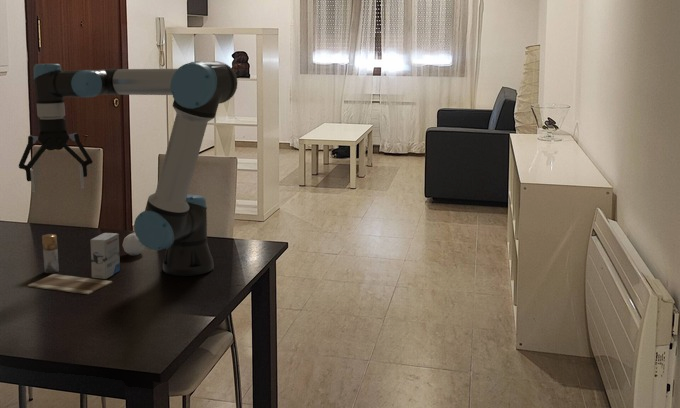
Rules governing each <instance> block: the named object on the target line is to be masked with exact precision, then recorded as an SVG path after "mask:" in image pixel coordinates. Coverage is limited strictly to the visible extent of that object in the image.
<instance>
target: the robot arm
mask: <svg viewBox="0 0 680 408" xmlns="http://www.w3.org/2000/svg"><path fill="white" fill-rule="evenodd" d="M33 84H34V91H35V100H36V103H35V104H36V114H37V117H38V118H39V119H38V120H37V123H38V133H39V134H38V136H33V135H28V136H27V144H26V147H25V149H24V152H23V154H22V156H21V159H20V161H19V164H18V168H19V169H20V170H24V171H25V177H26V181H27V182H31V193H33V194H35V193H36V184H35V175H34V169H32V167H33V166H34V165H35V164H36V162H37V161H38V160H39V159H40V157H41V156H42V155H43V153H44V152H45V151H46V150H48V151H54V150H56V151H57V150H58V151H60V150H62V149H65V150H66V151H67V152H68V153H69V155H71V157H73V158H74V159H75V161H77V162H79V164H80V165H79V166H78V168H79V169H78V170H79V171H78V172H79V178H80V179H79V180H80V188H81V189H85V179H84V178H86V177H88V167H87V166H88V165H91V164H92V163H93V160H92V158H91V156H90V154H88V152H87V150H86V149H85V147H84V145H83V144H82V142H81V141H80V135H79V133H77V132H74V133H70V134H69V133H68V128H67V119H66V118H65V116H66V107H65V98H82V99H86V98H95V97H97V96H106V95H107V96H108V95H109V96H113V95H114V96H118V95H119V96H120V95H123V96H124V95H125V96H129V95H130V96H136V95H137V96H138V95H140V96H141V95H142V96H172V98H173V101H172V108H173V109H174V111H175V118H174V122H173V126H172V129H171V133H170V137H169V140H168V144H167V148H166V152H165V155H164V159H163V162H162V166H161V170H160V174H159V178H158V181H157V185H156V190H155V192H154V193H152V194H150V195H149V196H148V198H147V200H146V201H147V202H146V206H145V209H144V210H143V211H141V212H140V213H139V214H138V215H137V216H136V217H135V219H134V223H133V229H134V232H135V234H136V236H137V237H138V239H139V241H140V242H141V243H142V244H143V245H144V246H145V248H147V249H148V250H152V251H161V250H164V249H166V252H165V255H164V259H163V261H162V270H163V272H164V273H165V274H168V275H171V276H178V277H187V276H188V277H191V276H192V277H193V276H199V275H203V274H207V273H209V272H211V271H213V270H214V268H215V266H214V259H213V256H212V254H211V251H210V248H209V245H208V227H207V226H208V221H207V219H208V217H207V215H208V214H207V209H208V207H207V201H206V197H204V196H202V195H200V194H189V189H190V187H191V183H192V181H193V176H194V173H195V168H196V165H197V163H198V158H199V155H200V150H201V147H202V144H203V141H204V137H205V133H206V129H207V126H208V123H209V122H210V121H211V120H214V119H215V118H216V115H217V111H218V108H219V104H223V103H226V102H228V101H229V100H230V99H232V98H233V97H234V95H235V93H236V91H237V89H238V78H237V73H235V71H234V70H233V68H232V67H231V66H230V65H228V64H227V63H224V62H221V61H218V60H217V61H216V60H215V61H190V62H187V63H185V64H182V65H181V66H180V67H178V68H120V69H119V68H117V69H116V68H105V69H103V68H102V69H79V70H76V69H75V70H62V67H61V64H60V63H36V64H34V66H33ZM70 139H71V141H73V142H74V143H75V144H76V146H77V147H78V149H79V150H80V151H81V153H82V155H83V157H84V159H85V160H84V159H82V157H80V156H79V155H78V154H77V153H76V152H75V151H74V150H73V149H72V148H71V147H70V146H69V145H68V144H67V143H68V141H69V140H70ZM37 141H38V142H39V144H41V146H40V147H39V148H38V150H37V151H36V152H35V154H34V155H33V156H32V157H31V159H30V160H29V161H28V163H27V164H26V162H27V160H28V157H29V154H30V153H31V150H32V148H33V145H34V144H36V142H37ZM212 269H213V270H212Z"/></svg>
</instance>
